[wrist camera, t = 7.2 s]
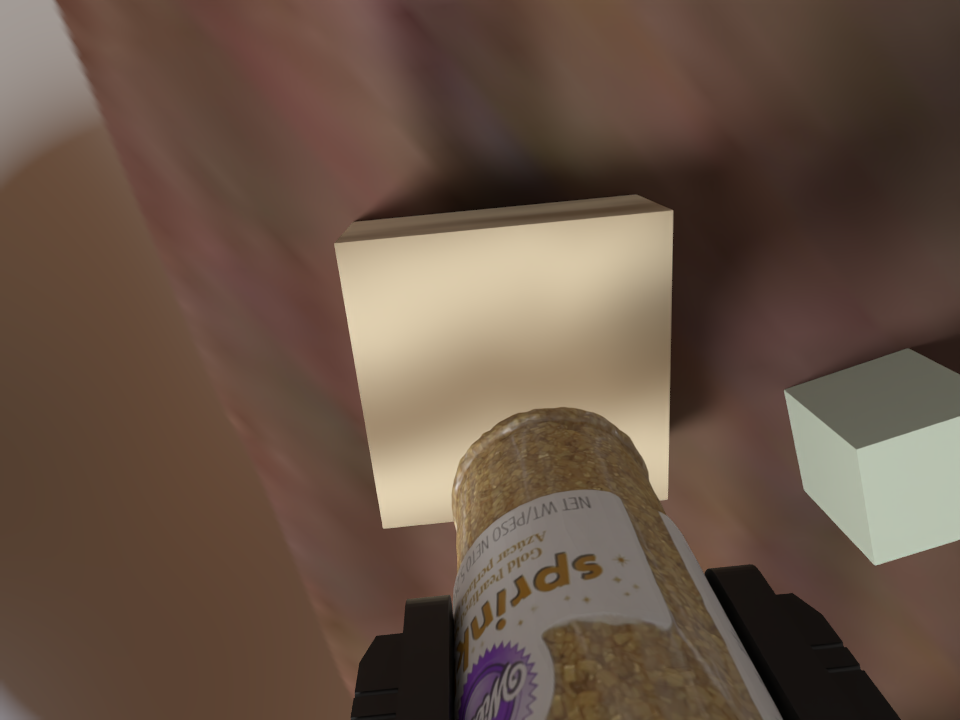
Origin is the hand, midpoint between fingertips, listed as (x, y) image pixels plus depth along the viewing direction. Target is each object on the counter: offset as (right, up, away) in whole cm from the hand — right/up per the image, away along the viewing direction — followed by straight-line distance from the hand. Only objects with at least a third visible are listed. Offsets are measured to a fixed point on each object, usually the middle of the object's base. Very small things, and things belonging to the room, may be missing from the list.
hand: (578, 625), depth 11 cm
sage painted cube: (+14, +2, +16) cm, 21 cm away
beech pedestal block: (-1, +5, +14) cm, 15 cm away
